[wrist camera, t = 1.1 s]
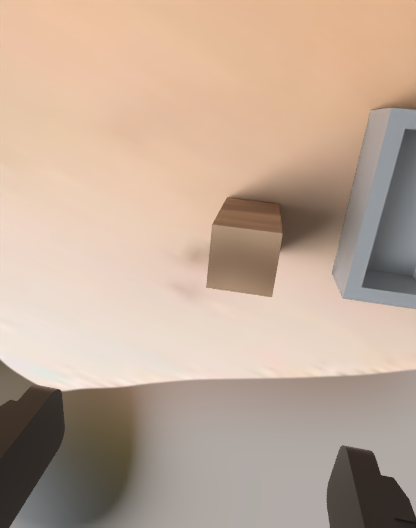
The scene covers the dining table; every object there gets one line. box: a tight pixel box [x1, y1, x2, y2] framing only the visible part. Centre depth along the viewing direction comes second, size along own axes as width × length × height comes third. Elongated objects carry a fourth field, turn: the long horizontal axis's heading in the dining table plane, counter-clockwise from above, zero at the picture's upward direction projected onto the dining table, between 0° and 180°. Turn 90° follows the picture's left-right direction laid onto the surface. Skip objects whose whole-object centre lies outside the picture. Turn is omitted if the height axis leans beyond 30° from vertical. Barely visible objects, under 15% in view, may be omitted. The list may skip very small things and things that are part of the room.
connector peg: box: [206, 198, 283, 297], centre depth 25 cm, size 4×4×8 cm
